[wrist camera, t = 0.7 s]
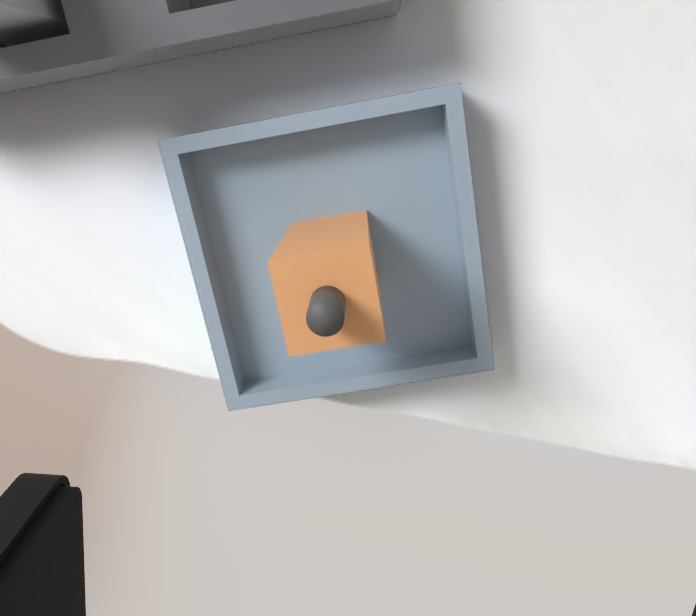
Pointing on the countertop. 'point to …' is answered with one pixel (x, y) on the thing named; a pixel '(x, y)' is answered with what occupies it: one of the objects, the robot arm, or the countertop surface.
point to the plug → (327, 284)
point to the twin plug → (31, 21)
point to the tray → (328, 200)
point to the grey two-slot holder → (167, 33)
